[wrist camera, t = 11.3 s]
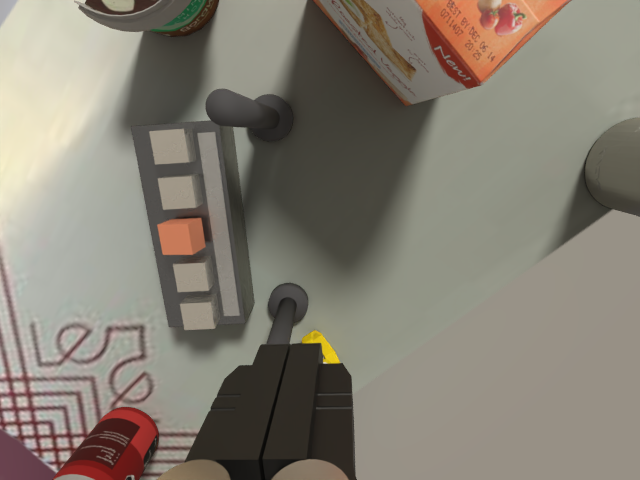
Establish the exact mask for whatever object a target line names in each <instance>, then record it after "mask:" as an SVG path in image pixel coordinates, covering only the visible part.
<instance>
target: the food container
mask: <svg viewBox="0 0 640 480" xmlns="http://www.w3.org/2000/svg"><path fill="white" fill-rule="evenodd" d="M74 2H75V3H77V4H79V7H78V8H79V9H80V10H81V11H82V12H83V13H84V14H86V15H87V16H88V17H89V18H91V19H93V20H94V21H96V22H98V23H100V24H102V25H105V26H107V27H109V28H112V29H117V30H121V31H129V32H140V31H148V30H149V31H152V32H155V33H159V34H163V35H166V36H170V37H177V36H187V35H190V34H192V33H194V32H196V31H198V30H200V29H201V28H203V27H204V26H205V25H206V24H207V23H208V22H209V21H210V19H211V18H212V16H213V15H214V13H215V10H216V8H217V6H218V2H219V0H86V2H85V4H83V3H80V2H77V1H74Z"/></svg>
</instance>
